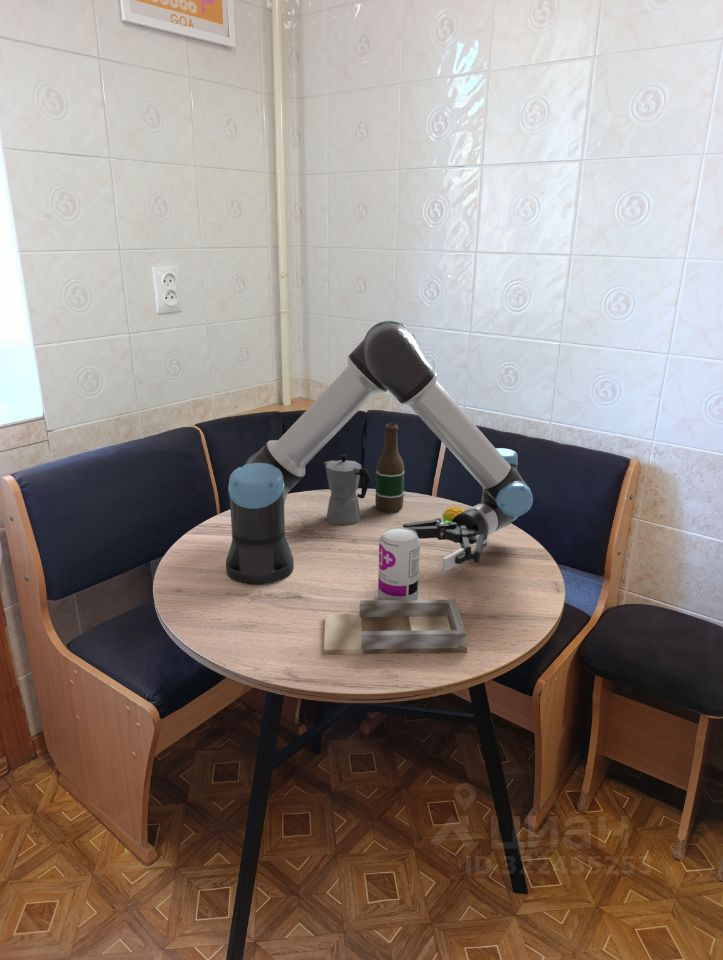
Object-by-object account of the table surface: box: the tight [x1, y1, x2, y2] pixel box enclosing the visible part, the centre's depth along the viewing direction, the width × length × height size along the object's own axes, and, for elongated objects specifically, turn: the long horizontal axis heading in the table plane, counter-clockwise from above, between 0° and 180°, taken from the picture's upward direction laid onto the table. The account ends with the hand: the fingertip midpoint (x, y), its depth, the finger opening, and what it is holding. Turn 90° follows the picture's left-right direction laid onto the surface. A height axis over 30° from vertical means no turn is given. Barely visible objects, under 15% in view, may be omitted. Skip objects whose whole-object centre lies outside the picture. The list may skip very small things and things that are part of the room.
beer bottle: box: [374, 423, 405, 514], centre depth 181 cm, size 8×8×24 cm
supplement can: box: [377, 526, 421, 600], centre depth 135 cm, size 8×8×15 cm
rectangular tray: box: [323, 599, 468, 655], centre depth 125 cm, size 26×12×4 cm, turn 92°
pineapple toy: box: [441, 506, 465, 523], centre depth 171 cm, size 7×10×5 cm
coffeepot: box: [323, 454, 372, 526], centre depth 174 cm, size 15×9×18 cm, turn 51°
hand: (417, 554), depth 138 cm, fingers open, 13 cm apart
